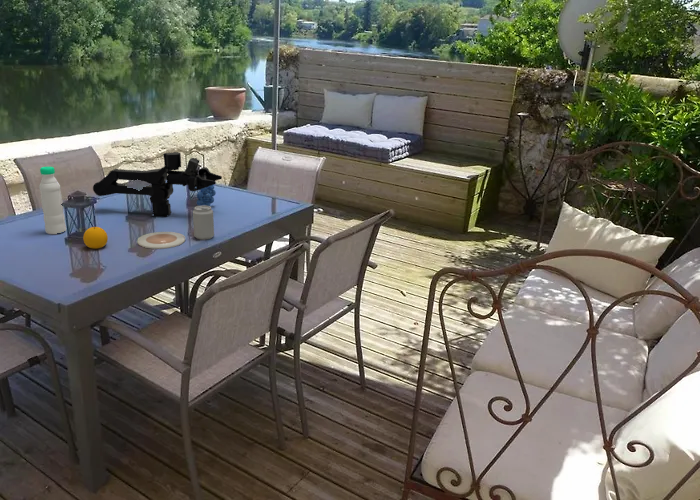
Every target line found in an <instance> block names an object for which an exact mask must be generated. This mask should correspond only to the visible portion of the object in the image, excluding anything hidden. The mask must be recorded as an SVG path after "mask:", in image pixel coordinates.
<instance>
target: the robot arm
mask: <svg viewBox="0 0 700 500" xmlns="http://www.w3.org/2000/svg"><path fill="white" fill-rule="evenodd" d="M162 155H163V162H164V164H163V165H164V166H163V167H161V168H154V169H153V168H152V169H149V170H135V169H120V168H114V169H112V170H110V171H109V172H108V174H106V176H104V177H103V178H102V179H101V180H99V181H97V182H96V183H94V184H93V186H92V191H93V192H94V194H95V195H96V196H98V197H102V196H103V197H104V196H111V195H114V194H121V195H137V196H139V195H140V196H150V198H149V201H150V203H151V206H152V207H151V208H152V214H154V216H153V217H161V218H163V217H165V218H166V217H168V216H169V215H171V213H172V209H171V207H172V206H171V203H170V200H169V199H170V197H171V195H173V193H174V187H173V185H176V186H177V185H179V186H182V187H186V186H187V189H188V191H190V192H196V191H198V192H199V191H200V189H203V188H206V187H208V186H211V185H214V186H215V185H216V183H217V182H216V181H219V180H222V179H223V178H222V177H223V176H222V175H219V174H216V173H213V172H211V171H210V170H209V168H208V167H206V166H205V167H204V166H203V167H201V168H200V169H197V168H198V166H199V164H200V159H198V158H197V157H191V158H189V159H188V162H187V166H186V169H185V170H180V168H182V157H181V156H182V155H181V152H178V151H173V152H164V153H163V154H162ZM137 179H138V180H141V182H145V183H148V185H149V186H146V187H143V189H142V190H140V191H138V190H136V189H133V188H127V186H125V184H126V183H121V182H119V183H118V180H120V181H135V180H137ZM123 184H124V186H123Z"/></svg>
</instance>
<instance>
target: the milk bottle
mask: <svg viewBox="0 0 700 500" xmlns="http://www.w3.org/2000/svg"><path fill="white" fill-rule="evenodd" d="M39 172H40V175H41V176H42V177H41V180H40V183H39V185H38V189H39V192H40V202H41V207H42V213H43V221H44V230H45V233H46V234H48V235H58V234H57V233H61V232H64V231H65V232H66V231H67V225H66V222H65V220H66V217H65V213H64V205H63V206H62V205H61V204H62V203H63V195H62V192H61V184H60V183H59V181H58V180H57V177H55V172H56V170H55V168H54V166H42V167H40V168H39ZM65 232H64V233H65ZM61 234H62V233H61Z"/></svg>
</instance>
